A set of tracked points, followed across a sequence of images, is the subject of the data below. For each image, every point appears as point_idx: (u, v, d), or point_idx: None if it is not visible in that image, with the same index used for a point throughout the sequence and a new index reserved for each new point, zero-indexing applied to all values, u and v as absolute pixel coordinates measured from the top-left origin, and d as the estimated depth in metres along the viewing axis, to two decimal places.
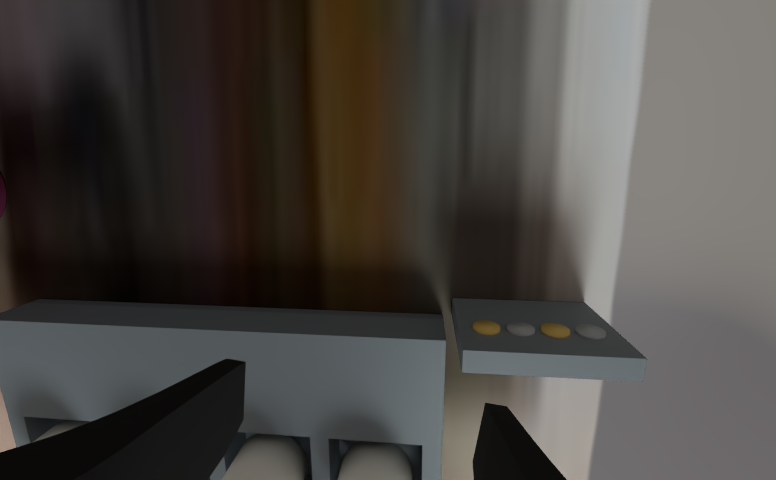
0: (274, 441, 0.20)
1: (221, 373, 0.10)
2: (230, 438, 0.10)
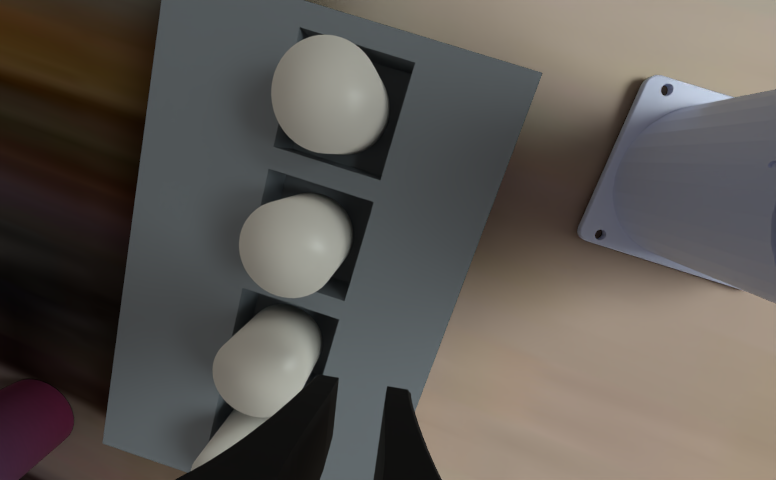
0: None
1: (325, 391, 0.09)
2: (326, 456, 0.10)
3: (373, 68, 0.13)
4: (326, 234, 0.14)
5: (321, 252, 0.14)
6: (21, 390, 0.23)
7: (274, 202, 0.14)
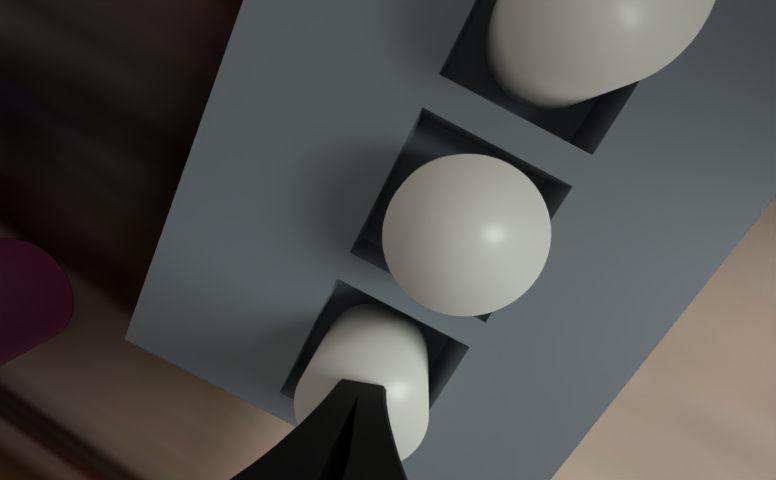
0: None
1: (351, 396, 0.09)
2: None
3: None
4: None
5: None
6: (4, 248, 0.15)
7: None
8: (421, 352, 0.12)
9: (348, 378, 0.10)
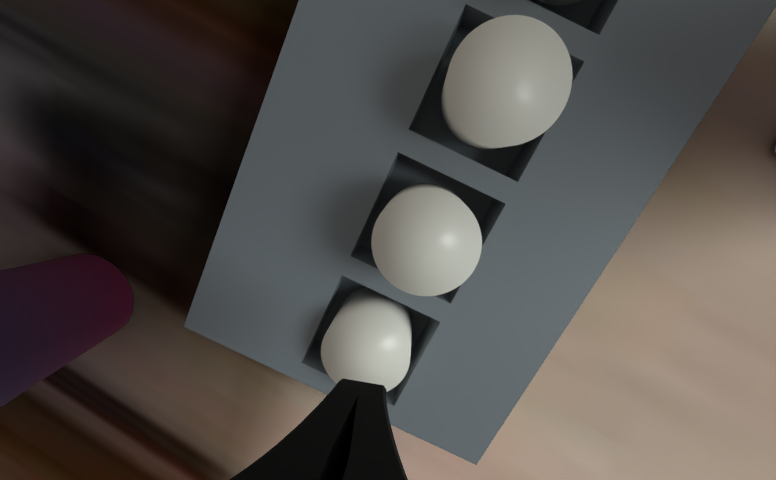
0: None
1: (351, 396, 0.09)
2: None
3: None
4: (563, 66, 0.12)
5: (550, 90, 0.12)
6: (83, 261, 0.20)
7: (508, 16, 0.11)
8: (406, 317, 0.17)
9: (356, 332, 0.16)
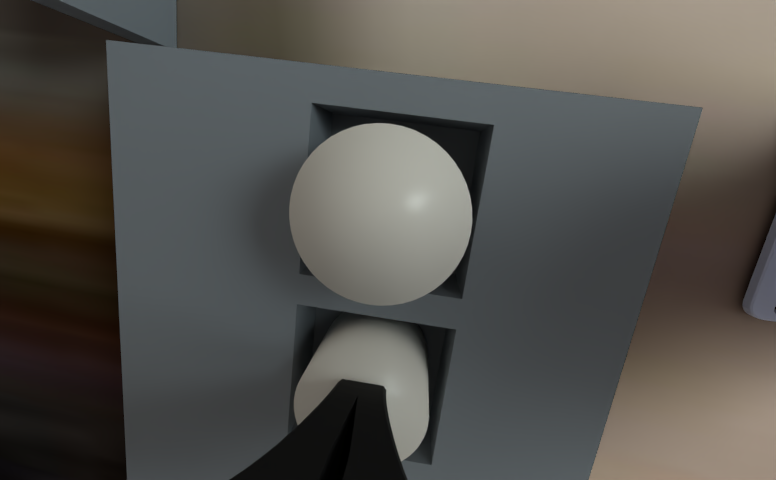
0: None
1: (351, 396, 0.09)
2: None
3: (454, 165, 0.07)
4: (410, 386, 0.10)
5: (406, 409, 0.10)
6: None
7: (334, 355, 0.10)
8: None
9: None
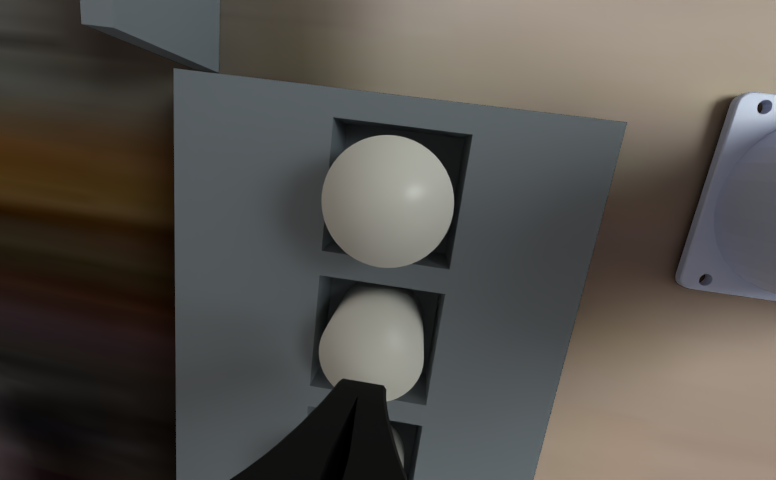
0: None
1: (351, 396, 0.09)
2: None
3: (440, 164, 0.10)
4: (409, 334, 0.13)
5: (406, 353, 0.14)
6: None
7: (350, 310, 0.13)
8: None
9: None
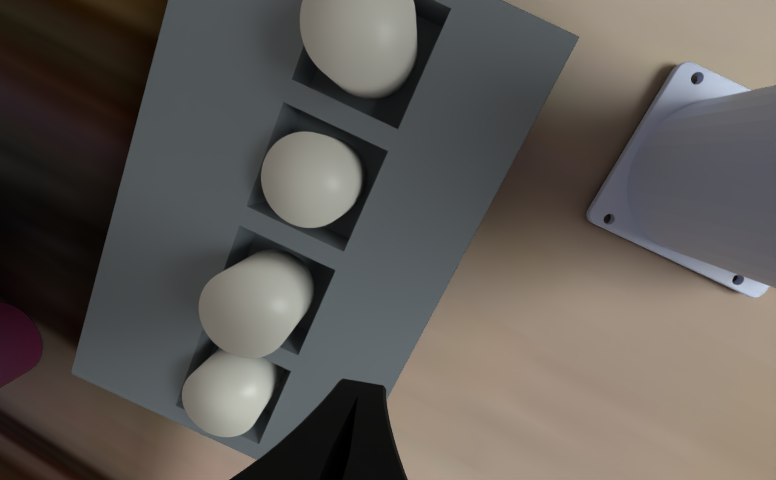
0: None
1: (351, 396, 0.09)
2: None
3: None
4: (346, 169, 0.15)
5: (339, 186, 0.15)
6: None
7: (301, 132, 0.15)
8: (267, 365, 0.19)
9: (210, 383, 0.18)
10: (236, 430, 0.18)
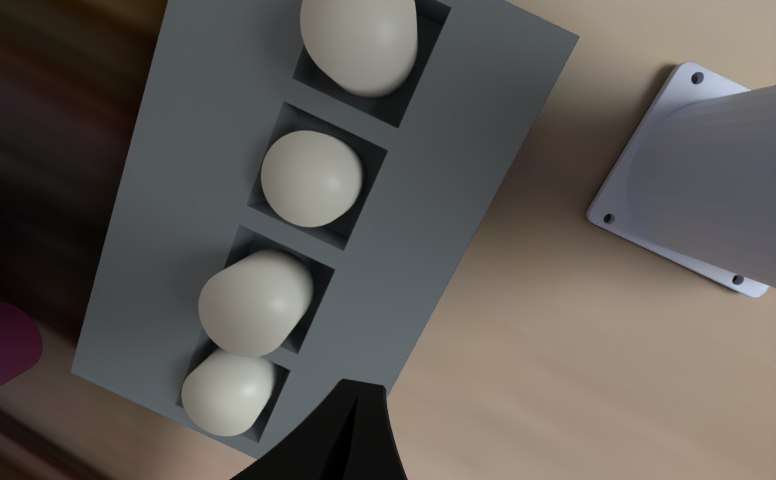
0: None
1: (351, 396, 0.09)
2: None
3: None
4: (346, 168, 0.15)
5: (339, 185, 0.15)
6: None
7: (301, 131, 0.15)
8: (267, 364, 0.19)
9: (210, 382, 0.18)
10: (235, 430, 0.18)
